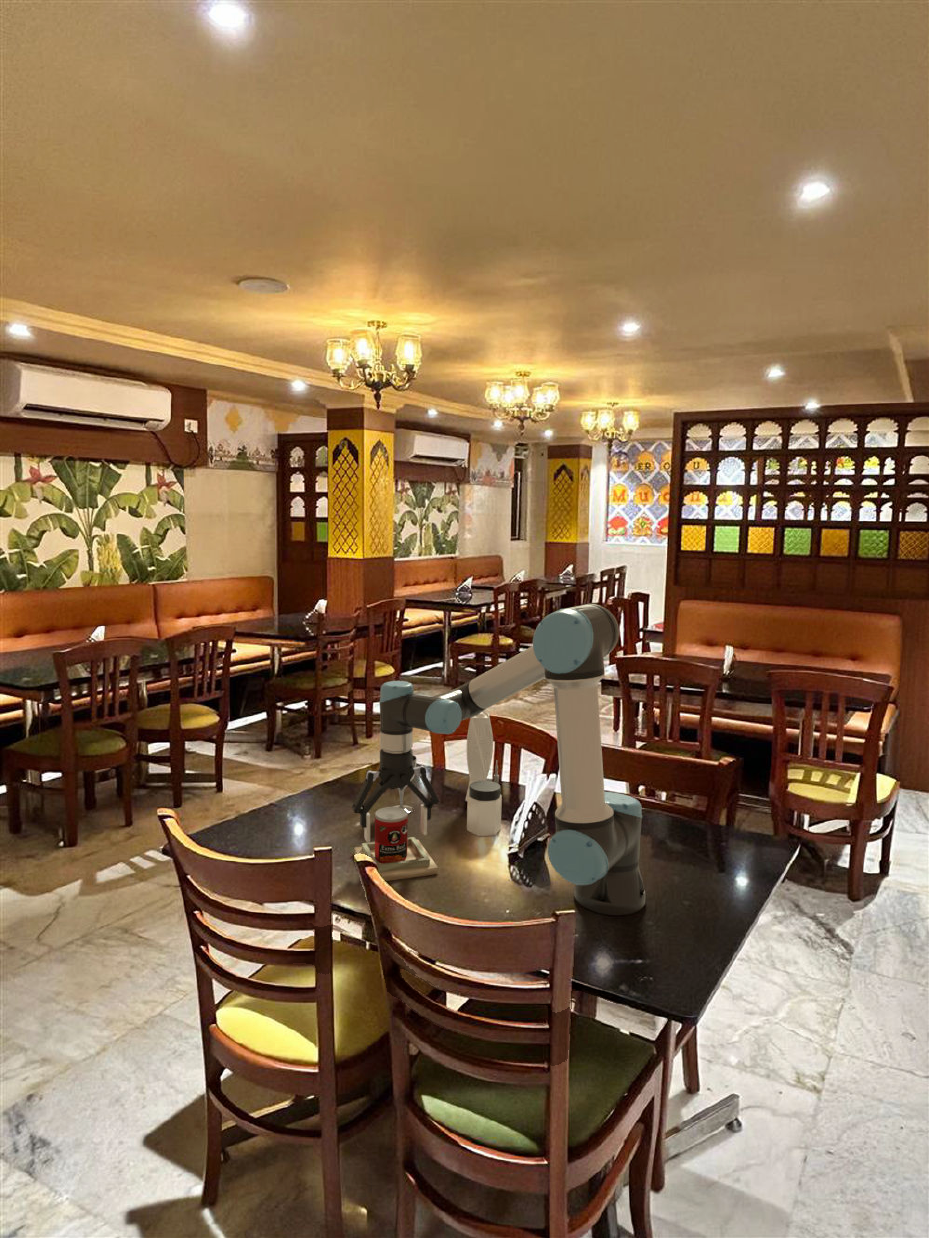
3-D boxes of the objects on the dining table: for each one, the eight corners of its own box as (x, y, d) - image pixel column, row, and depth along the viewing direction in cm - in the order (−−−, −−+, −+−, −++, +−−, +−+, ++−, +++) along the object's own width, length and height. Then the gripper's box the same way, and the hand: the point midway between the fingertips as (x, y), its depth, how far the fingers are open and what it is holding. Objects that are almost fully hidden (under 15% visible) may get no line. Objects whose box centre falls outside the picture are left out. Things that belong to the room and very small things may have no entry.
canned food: (377, 866, 184) (377, 820, 182) (372, 852, 191) (372, 807, 190) (410, 863, 186) (411, 817, 184) (403, 848, 193) (404, 805, 192)
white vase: (478, 810, 223) (480, 712, 219) (458, 801, 229) (461, 706, 225) (499, 803, 229) (502, 707, 225) (480, 795, 235) (483, 701, 231)
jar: (507, 831, 209) (508, 787, 207) (483, 839, 203) (484, 794, 202) (484, 820, 215) (485, 777, 214) (460, 828, 210) (461, 784, 209)
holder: (437, 873, 184) (438, 861, 184) (369, 883, 179) (369, 870, 179) (418, 845, 199) (418, 833, 199) (354, 853, 194) (354, 841, 193)
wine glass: (382, 807, 223) (383, 755, 221) (409, 803, 227) (410, 751, 224) (392, 817, 216) (393, 763, 214) (420, 813, 219) (420, 760, 217)
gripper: (442, 739, 193) (441, 824, 196) (339, 748, 184) (339, 836, 187) (452, 748, 186) (451, 836, 189) (345, 758, 177) (346, 849, 180)
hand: (395, 836), depth 188 cm, fingers open, 13 cm apart
